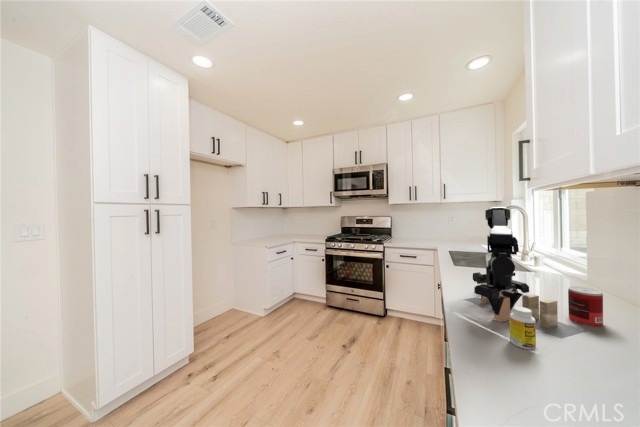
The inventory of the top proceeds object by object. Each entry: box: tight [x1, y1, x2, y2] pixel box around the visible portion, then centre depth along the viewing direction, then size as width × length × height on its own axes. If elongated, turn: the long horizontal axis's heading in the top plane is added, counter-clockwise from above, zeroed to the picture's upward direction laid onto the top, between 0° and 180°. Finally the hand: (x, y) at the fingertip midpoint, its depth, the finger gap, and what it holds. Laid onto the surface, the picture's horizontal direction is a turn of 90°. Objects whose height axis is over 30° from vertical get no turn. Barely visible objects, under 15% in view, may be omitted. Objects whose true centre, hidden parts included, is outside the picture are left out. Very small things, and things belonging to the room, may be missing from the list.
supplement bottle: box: [509, 306, 537, 350], centre depth 65 cm, size 6×6×10 cm
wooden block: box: [539, 298, 559, 328], centre depth 75 cm, size 2×5×8 cm, turn 107°
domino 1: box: [480, 283, 492, 304], centre depth 94 cm, size 2×5×8 cm, turn 107°
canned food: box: [567, 286, 604, 327], centre depth 77 cm, size 8×8×11 cm
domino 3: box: [521, 293, 540, 320], centre depth 79 cm, size 2×5×8 cm, turn 107°
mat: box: [463, 296, 586, 339], centre depth 84 cm, size 12×32×1 cm, turn 17°
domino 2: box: [493, 296, 510, 322], centre depth 80 cm, size 2×5×8 cm, turn 107°
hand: (502, 313), depth 80 cm, fingers closed on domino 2, 5 cm apart
